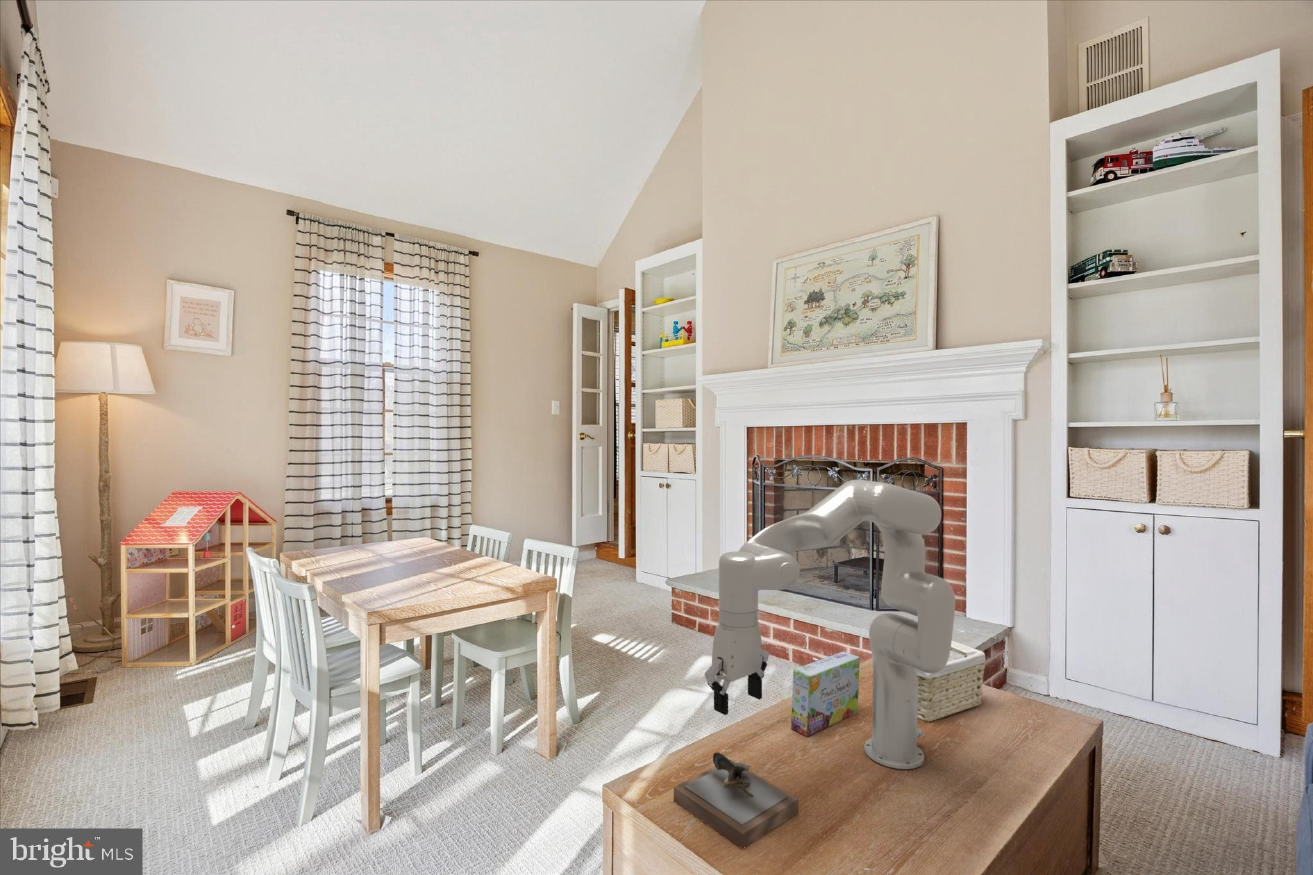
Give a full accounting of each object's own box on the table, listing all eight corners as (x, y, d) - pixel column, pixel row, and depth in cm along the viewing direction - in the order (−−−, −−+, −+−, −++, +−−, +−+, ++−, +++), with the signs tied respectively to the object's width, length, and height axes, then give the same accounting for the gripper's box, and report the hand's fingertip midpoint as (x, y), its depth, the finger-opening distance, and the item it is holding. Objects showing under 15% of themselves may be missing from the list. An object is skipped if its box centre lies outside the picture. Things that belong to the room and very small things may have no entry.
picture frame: (729, 771, 132) (729, 757, 132) (798, 812, 118) (798, 797, 118) (673, 800, 121) (673, 785, 121) (742, 849, 108) (742, 832, 108)
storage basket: (926, 726, 153) (927, 667, 153) (875, 700, 167) (876, 646, 167) (987, 707, 164) (989, 652, 164) (935, 684, 178) (936, 633, 178)
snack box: (809, 738, 146) (810, 675, 146) (790, 729, 150) (791, 668, 150) (859, 713, 159) (860, 655, 159) (840, 705, 164) (842, 649, 164)
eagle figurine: (738, 810, 118) (730, 779, 127) (765, 786, 118) (755, 756, 126) (711, 784, 117) (705, 754, 126) (739, 759, 117) (731, 731, 126)
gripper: (753, 603, 127) (752, 685, 128) (692, 621, 116) (692, 711, 117) (782, 612, 122) (781, 697, 122) (721, 632, 110) (721, 726, 111)
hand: (738, 704), depth 119 cm, fingers open, 9 cm apart
